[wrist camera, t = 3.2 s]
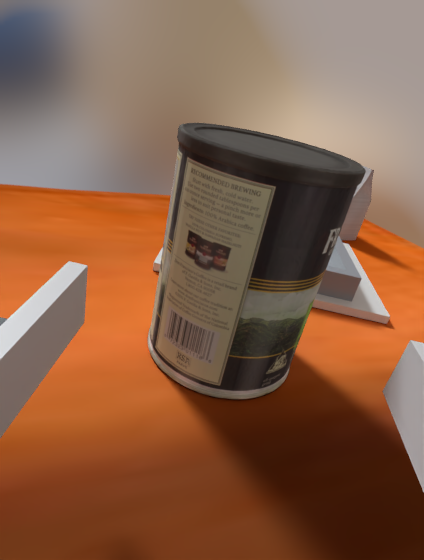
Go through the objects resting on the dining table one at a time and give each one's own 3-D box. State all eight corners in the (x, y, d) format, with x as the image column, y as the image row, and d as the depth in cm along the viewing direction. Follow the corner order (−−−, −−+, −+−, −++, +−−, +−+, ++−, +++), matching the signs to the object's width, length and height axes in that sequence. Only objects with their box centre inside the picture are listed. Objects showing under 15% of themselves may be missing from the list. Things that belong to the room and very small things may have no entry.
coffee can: (285, 323, 32) (346, 150, 26) (294, 418, 23) (392, 187, 17) (164, 295, 33) (195, 115, 26) (126, 377, 23) (158, 132, 17)
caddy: (152, 270, 36) (157, 237, 34) (184, 212, 52) (189, 188, 50) (386, 324, 36) (402, 293, 34) (346, 249, 52) (355, 226, 50)
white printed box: (324, 222, 62) (347, 157, 57) (355, 240, 56) (382, 171, 52) (306, 221, 60) (328, 155, 55) (336, 240, 55) (363, 169, 50)
